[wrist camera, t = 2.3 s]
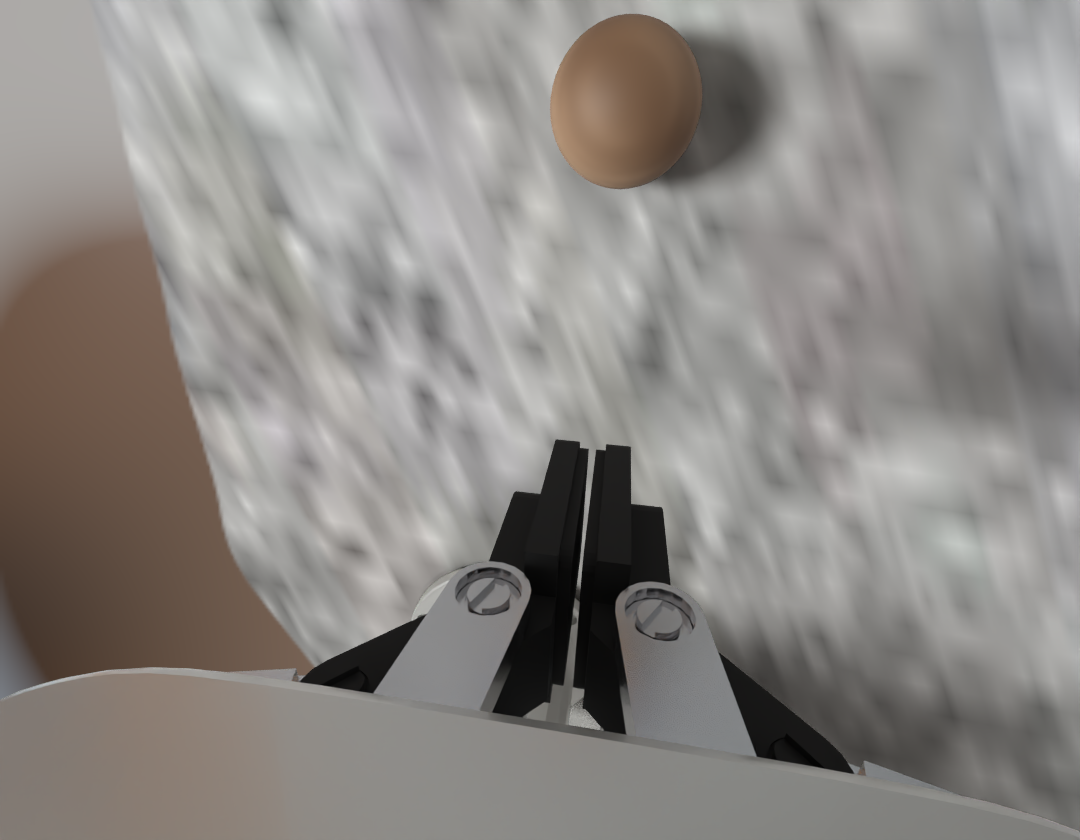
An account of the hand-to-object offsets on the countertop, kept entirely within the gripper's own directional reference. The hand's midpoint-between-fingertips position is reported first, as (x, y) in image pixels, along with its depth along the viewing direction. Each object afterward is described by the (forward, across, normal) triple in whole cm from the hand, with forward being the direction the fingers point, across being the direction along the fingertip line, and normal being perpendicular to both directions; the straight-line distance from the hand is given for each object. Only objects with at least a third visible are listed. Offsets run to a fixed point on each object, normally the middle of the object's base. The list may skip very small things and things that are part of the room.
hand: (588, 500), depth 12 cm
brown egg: (+13, 0, -9) cm, 15 cm away
